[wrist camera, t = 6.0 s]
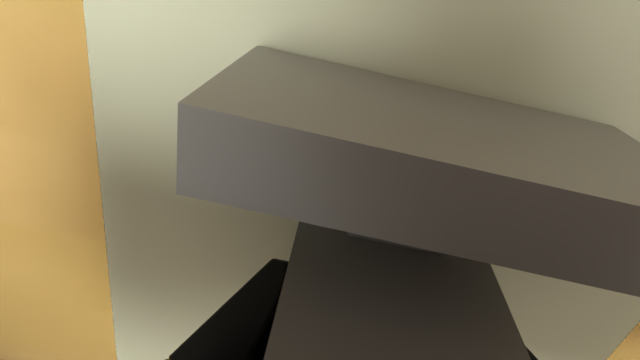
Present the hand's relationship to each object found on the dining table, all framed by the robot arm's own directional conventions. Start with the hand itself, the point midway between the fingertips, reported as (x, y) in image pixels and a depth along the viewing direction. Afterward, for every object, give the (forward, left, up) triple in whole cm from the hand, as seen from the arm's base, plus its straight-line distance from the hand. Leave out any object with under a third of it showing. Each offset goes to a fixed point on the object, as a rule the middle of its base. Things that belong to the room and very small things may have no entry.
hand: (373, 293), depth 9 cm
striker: (+1, 0, -1) cm, 2 cm away
